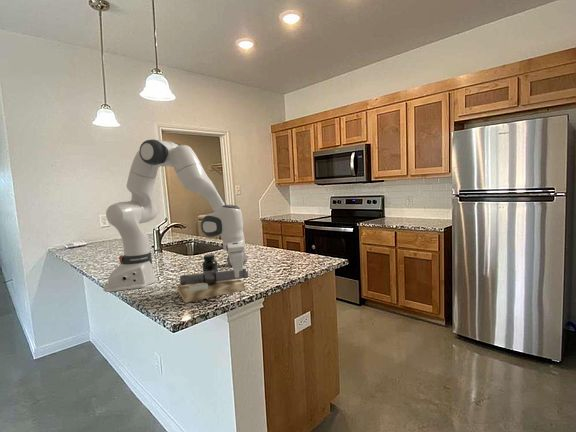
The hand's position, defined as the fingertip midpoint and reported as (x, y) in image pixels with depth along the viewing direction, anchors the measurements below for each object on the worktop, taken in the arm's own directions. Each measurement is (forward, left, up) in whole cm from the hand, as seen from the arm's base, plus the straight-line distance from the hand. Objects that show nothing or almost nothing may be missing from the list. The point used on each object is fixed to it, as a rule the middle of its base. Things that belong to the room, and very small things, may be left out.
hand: (236, 276), depth 135 cm
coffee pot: (+13, +38, -6) cm, 41 cm away
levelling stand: (-10, +5, -5) cm, 12 cm away
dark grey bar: (-8, +5, -2) cm, 10 cm away
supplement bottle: (-6, +20, -6) cm, 22 cm away
